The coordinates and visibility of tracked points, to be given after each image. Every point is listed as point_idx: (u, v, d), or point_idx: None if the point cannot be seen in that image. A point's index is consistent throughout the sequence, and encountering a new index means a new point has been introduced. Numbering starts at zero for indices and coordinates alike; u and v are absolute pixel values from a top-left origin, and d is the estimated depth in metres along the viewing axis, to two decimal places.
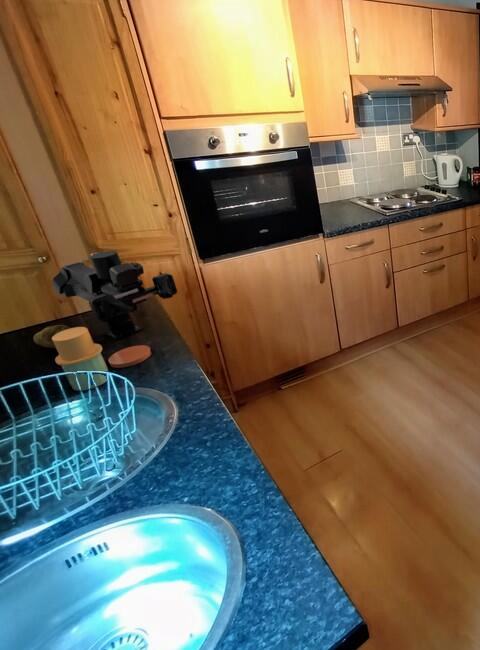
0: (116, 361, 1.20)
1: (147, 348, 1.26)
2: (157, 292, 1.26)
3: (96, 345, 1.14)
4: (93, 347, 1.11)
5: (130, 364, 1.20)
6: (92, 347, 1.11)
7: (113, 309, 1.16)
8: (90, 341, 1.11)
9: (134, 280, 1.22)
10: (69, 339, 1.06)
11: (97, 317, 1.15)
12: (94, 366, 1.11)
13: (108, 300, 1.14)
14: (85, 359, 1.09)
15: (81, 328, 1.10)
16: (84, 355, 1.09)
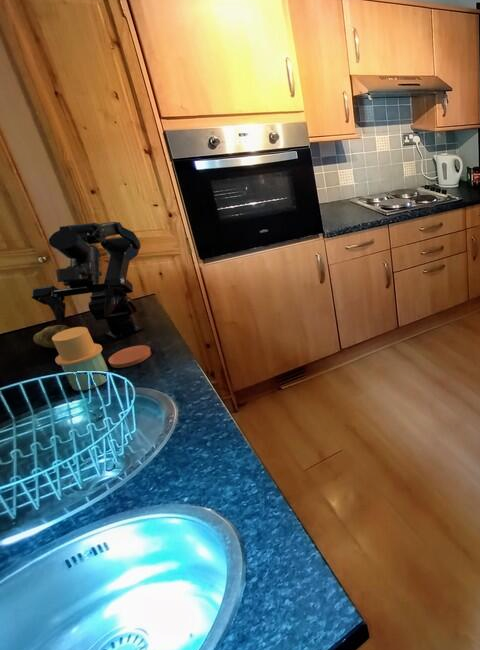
0: (116, 361, 1.20)
1: (147, 348, 1.26)
2: None
3: (96, 345, 1.14)
4: (93, 347, 1.11)
5: (130, 364, 1.20)
6: (92, 347, 1.11)
7: None
8: (90, 341, 1.11)
9: (84, 279, 1.15)
10: (69, 339, 1.06)
11: None
12: (94, 366, 1.11)
13: (46, 301, 1.12)
14: (85, 359, 1.09)
15: (81, 328, 1.10)
16: (84, 355, 1.09)
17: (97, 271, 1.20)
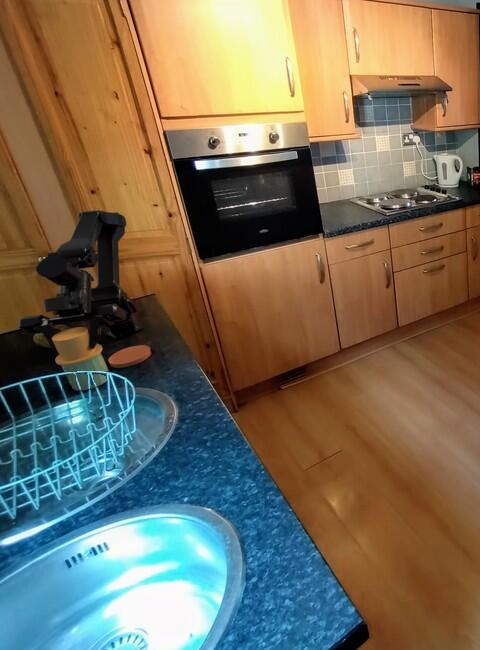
0: (116, 361, 1.20)
1: (147, 348, 1.26)
2: None
3: (96, 345, 1.14)
4: None
5: (130, 364, 1.20)
6: None
7: None
8: None
9: (74, 307, 1.09)
10: (69, 339, 1.06)
11: None
12: (94, 366, 1.11)
13: (41, 330, 1.07)
14: (85, 359, 1.09)
15: (81, 328, 1.10)
16: (84, 355, 1.09)
17: (89, 298, 1.14)
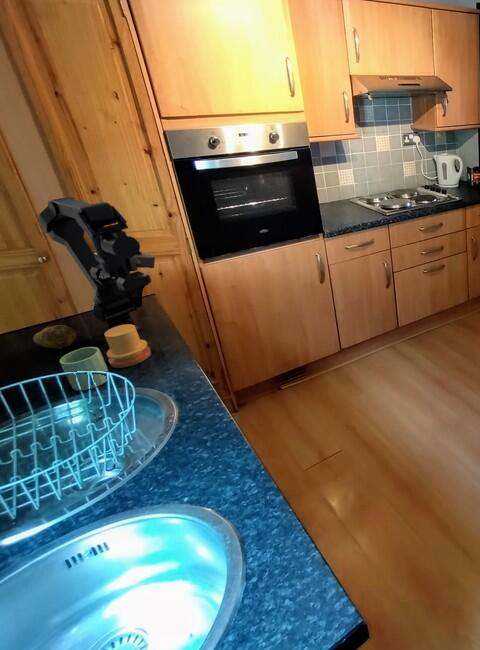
0: (116, 361, 1.20)
1: (147, 348, 1.26)
2: None
3: None
4: (140, 341, 1.24)
5: (130, 364, 1.20)
6: (140, 340, 1.23)
7: None
8: (138, 335, 1.23)
9: None
10: (125, 333, 1.19)
11: (130, 287, 1.16)
12: (94, 366, 1.11)
13: None
14: (139, 350, 1.21)
15: (126, 325, 1.22)
16: (136, 347, 1.22)
17: None
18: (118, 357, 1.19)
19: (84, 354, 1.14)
